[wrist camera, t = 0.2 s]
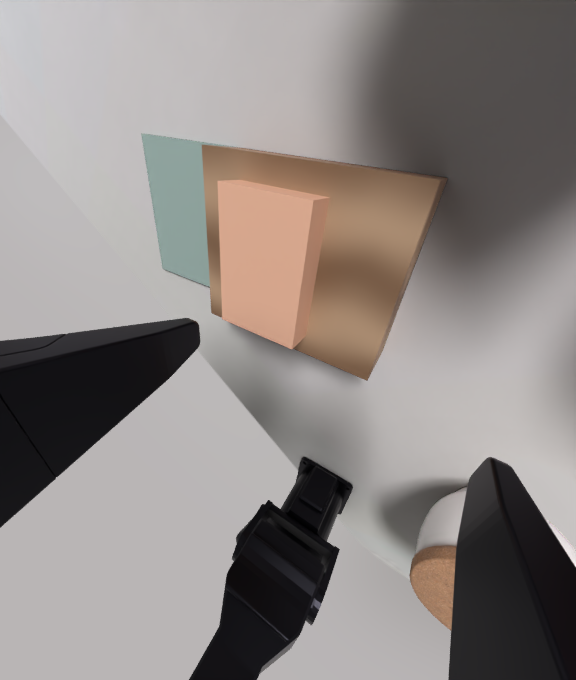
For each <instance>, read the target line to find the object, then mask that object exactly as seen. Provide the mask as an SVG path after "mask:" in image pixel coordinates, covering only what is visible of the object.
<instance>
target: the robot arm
mask: <svg viewBox="0 0 576 680" xmlns="http://www.w3.org/2000/svg"><path fill="white" fill-rule="evenodd" d="M199 345H200V332H199V325H198V323H197V322H196V321H194V320H191V319H189V318H183V319H175V320H167V321H160V322H152V323H144V324H137V325H129V326H121V327H114V328H106V329H98V330H90V331H83V332H76V333H68V334H59V335H52V336H44V337H35V338H26V339H17V340H5V341H0V527H2V526H3V525H4V524H5V523H6V522H7V521H8V520H9V519H11V518H12V517H13V516H14V515H15V514H16V513H17V512H18V511H20V510H21V509H22V508H23V507H24V506H25V505H26V504H27V503H29V502H30V501H31V500H32V499H33V498H34V497H35V496H37V495H38V494H39V493H40V492H41V491H42V490H43V489H44V488H46V487H47V486H48V485H49V484H50V483H51V482H53V481H54V480H55V479H56V477H58V476H59V475H60V474H61V473H62V472H64V471H65V470H66V469H67V468H68V467H69V466H70V465H71V464H73V463H74V462H75V461H76V460H77V459H78V458H79V457H81V456H82V455H83V454H84V453H85V452H86V451H87V450H88V449H90V448H91V447H92V446H93V445H94V444H95V443H96V442H97V441H99V440H100V439H101V438H102V437H103V436H104V435H106V434H107V433H108V432H109V431H110V430H111V429H112V428H113V427H115V426H116V425H117V424H118V423H119V422H120V421H121V420H123V419H124V418H125V417H126V416H127V415H128V414H129V413H130V412H132V411H133V410H134V409H135V408H136V407H137V406H138V405H140V404H141V403H142V402H143V401H144V400H145V399H146V398H148V397H149V396H150V395H151V394H152V393H153V392H154V391H155V390H156V389H158V388H159V387H160V386H161V385H162V384H163V383H164V382H166V381H167V380H168V379H169V378H170V377H171V376H172V375H173V374H174V373H175V372H176V371H177V370H178V369H179V367H180V366H181V365H182V364H183V363H184V362H185V361H186V360H187V359H188V358H189V357H190V356H191V355H192V354H193V353H194V352H195V350H196V349H197V348H198V347H199ZM352 489H353V486H352V485H351V484H350V483H348V482H347V481H345V480H343V479H341V478H340V477H338V476H336V475H335V474H333V473H331V472H329V471H328V470H326V469H324V468H323V467H321V466H319V465H318V464H316V463H314V462H312V461H311V460H309V459H307V458H305V457H303V458H302V460H301V462H300V467H299V471H298V475H297V479H296V483H295V485H294V487H293V489H292V490H291V492H290V494H289V495H288V497H287V499H286V501H285V502H284V504H283V506H282V508H281V509H279V508H278V507H276V506H275V505H274V504H272V502H270V501H269V500H268V501H267V503H266V504H265V505H264V504H262V505H261V507H260V509H259V510H258V512H257V513H256V515H255V516H254V517H253V519H252V520H251V521H250V522H249V523H248V524H247V525H246V526H245V527H244V528H243V529H242V530H241V531H240V532H239V534H238V535H237V537H236V542H237V545H236V548H235V551H234V553H233V556H232V560H233V561H234V562H233V564H232V566H231V567H230V569H229V571H228V573H227V577H226V584H225V591H224V598H223V606H222V613H221V619H220V625H219V628H218V630H217V632H216V633H215V635H214V637H213V639H212V640H211V642H210V644H209V646H208V647H207V649H206V651H205V653H204V654H203V656H202V658H201V660H200V662H199V663H198V665H197V667H196V669H195V670H194V672H193V674H192V676H191V677H190V679H189V680H257V678H258V676H259V674H260V673H261V672H262V671H264V670H265V669H266V668H267V667H269V666H270V665H271V664H272V663H274V662H275V661H276V660H277V659H278V658H280V657H281V656H282V655H283V654H285V653H286V652H287V651H288V650H290V648H291V647H292V646H293V644H294V643H295V641H296V640H297V638H298V637H299V635H300V633H301V631H302V628H303V626H304V623H305V621H307V622H308V623H309V624H310V625H312V624H313V622H314V620H315V618H316V616H317V613H318V611H319V608H320V606H321V603H322V601H323V598H324V595H325V592H326V590H327V587H328V584H329V580H330V577H331V574H332V571H333V568H334V565H335V562H336V559H337V555H338V553H339V550H340V549H339V548H337V547H336V546H335V547H334V546H332V545H331V544H330V543H328V542H327V539H328V537H329V534H330V532H331V529H332V527H333V524H334V522H335V519H336V517H337V514H341V513H342V511H343V509H344V506H345V504H346V502H347V500H348V498H349V496H350V494H351V491H352ZM449 680H576V567H575V565H574V563H573V562H572V560H571V559H570V557H569V556H568V554H567V553H566V551H565V549H564V548H563V546H562V545H561V543H560V542H559V540H558V539H557V537H556V535H555V534H554V532H553V531H552V529H551V528H550V526H549V525H548V523H547V521H546V520H545V518H544V517H543V515H542V514H541V512H540V510H539V509H538V507H537V506H536V504H535V503H534V501H533V500H532V498H531V496H530V495H529V493H528V492H527V490H526V489H525V487H524V486H523V484H522V482H521V481H520V479H519V478H518V476H517V475H516V473H515V472H514V470H513V469H512V467H511V466H509V465H508V464H506V463H504V462H502V461H499V460H497V459H495V458H492V457H489V458H487V459H486V460H485V461H484V462H483V463H482V464H481V465H480V466H479V467H478V468H477V470H476V471H475V472H474V473H473V474H472V475H471V477H470V479H469V482H468V486H467V491H466V496H465V502H464V507H463V512H462V518H461V523H460V528H459V533H458V539H457V546H456V557H455V575H454V593H453V610H452V628H451V646H450V664H449Z"/></svg>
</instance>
